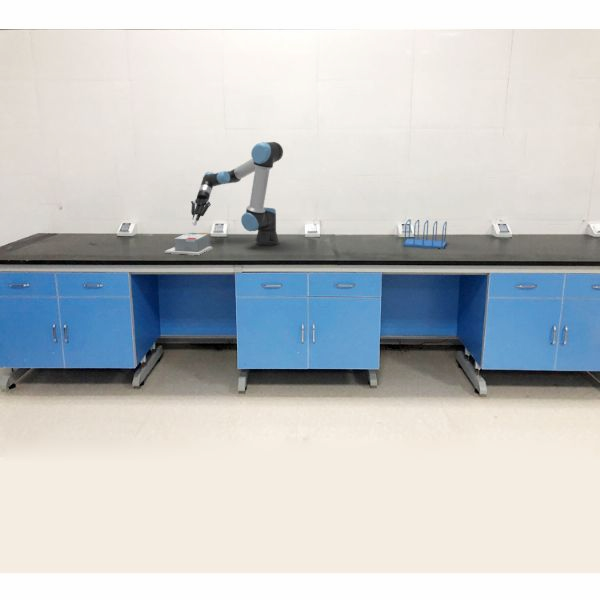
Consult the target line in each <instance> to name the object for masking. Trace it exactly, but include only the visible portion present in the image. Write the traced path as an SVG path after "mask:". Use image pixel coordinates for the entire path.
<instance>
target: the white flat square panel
mask: <svg viewBox="0 0 600 600" xmlns="http://www.w3.org/2000/svg"><path fill="white" fill-rule="evenodd" d="M211 250H213V246H211V245H210V246H208V247H206V248H204V249H202V250H200V251H176V250H175V246H173V247H171V248H168V249H167V250H164V254H165V253H171V254H170V255H179V254H188V255H187V256H194V255H199V256H200V254H201V255H202V253H203V254H205V253H207V252H209V251H211ZM206 251H207V252H206ZM204 252H205V253H204Z"/></svg>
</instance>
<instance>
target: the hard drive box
mask: <svg viewBox="0 0 600 600" xmlns="http://www.w3.org/2000/svg"><path fill="white" fill-rule="evenodd" d="M173 239H174V247H175V250H176V251H200V250H202V249H204V248H206V247H208V246H211V245H212V242H211V241H212V240H211V233H209V232H207V233H206V232H186V233H183V234H181V235H180V236H177V237H175V238H173Z"/></svg>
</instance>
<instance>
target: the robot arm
mask: <svg viewBox="0 0 600 600" xmlns="http://www.w3.org/2000/svg"><path fill="white" fill-rule="evenodd" d="M250 154H251V159H249V160H247V161H245V162H244V163H242V164H240V165H239V166H237V167H235V168H233V169H231V170H229V171H228V170H227V171H226V170H224V171H219V172H216V173H214V172H213V171H207V172H205V173H204V175H203V177H202V180H201V184H200V187H199V189H198V192H197V195H196V198H195V200H192V201H190V203H191V212H190V213H191V215H192V222H191V224H192V225H193V226H195V227H196V226H197V223H198V222H199V220H200V218H201V217H204V215H205V214H206V212H207V211H208V209H209V207H211V202H210V201H209V200H210V197H211V193H212V191H213V187H216V186H220V185H226V184H236V183H238V182H240V181H242V179H243V178H245V177H247V176H249V175H251V174H252V173H254V174H253V182H252V188H251V193H250V194H251V195H250V200H249V205H248V206H247V207H246V210H245V212H244V213H243V214H242V215H241V225H242V226H243V229H245V230H246V231H248V232H257V234H256V237H255V245H259V246H274V245H275V244H276V245H279V244H280V239H279V235H278V233H277V213H276V211H277V210H276V209H275V208H273V207H264V206H265V200H266V195H267V189H268V182H269V177H270V176H269V175H270V170H271V169H273V167H274V164H275V163H276V162H278V161H280V160H281V159H282V158H283V155H284V150H283V147H282V145H281V144H280V143H278V142H275V141H270V142H268V141H267V142H264V141H263V142H262V141H261V142H259V143H257V144H255V145H254V146H253V147H252V150H251V153H250Z"/></svg>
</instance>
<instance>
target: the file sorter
mask: <svg viewBox="0 0 600 600" xmlns="http://www.w3.org/2000/svg"><path fill="white" fill-rule="evenodd" d="M411 221H412V220H411V219H410V218H409V219H408V220H406V222H405V227H404V240H403V241H404V242H403V243H402V247H406V246H407V248H409V247H411V248H423V249H424V248H425V249H434V248H442V249H441V250H444V249H443V248H445V247H446V245H447V240H446V236H447V235H446V234H447V221H445V222H444V223H443V226H442V232H441V233H442V234H441V235H442V236H441V240H437V232H438V220H435V222H434V223H433V228H432V240H431V239H428V234H429V233H428V232H429V220H428V219H427V220H426V221H425V222H424V224H423V235H422V239H421V238H420V239H419V232H420V231H419V230H420V220H419V219H418V220H416V221H415V223H414V226H413V227H414V229H413V231H414V232H413V238H410V235H411ZM408 222H409V225H408V226H409V227H408V228H409V229H408V238H407V224H408ZM417 223H418V225H417V238H416V224H417ZM426 224H427V225H426ZM435 225H436V226H435ZM425 226H426V227H425ZM425 228H426V229H425ZM425 230H426V236H425ZM434 233H435V234H434ZM434 235H435V236H434ZM425 237H426V239H425ZM434 237H435V239H434ZM406 238H407V239H406ZM444 246H445V247H444Z"/></svg>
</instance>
